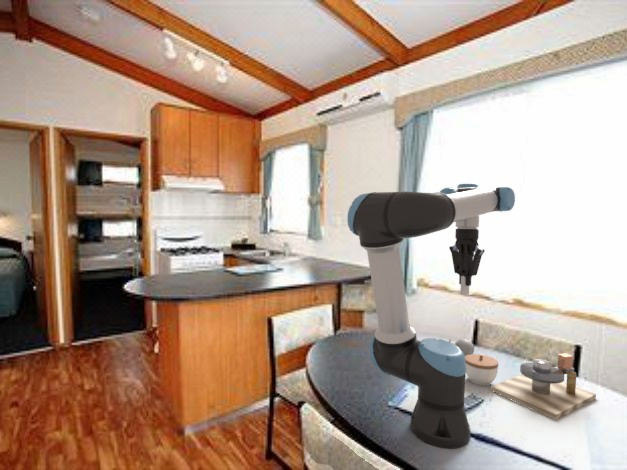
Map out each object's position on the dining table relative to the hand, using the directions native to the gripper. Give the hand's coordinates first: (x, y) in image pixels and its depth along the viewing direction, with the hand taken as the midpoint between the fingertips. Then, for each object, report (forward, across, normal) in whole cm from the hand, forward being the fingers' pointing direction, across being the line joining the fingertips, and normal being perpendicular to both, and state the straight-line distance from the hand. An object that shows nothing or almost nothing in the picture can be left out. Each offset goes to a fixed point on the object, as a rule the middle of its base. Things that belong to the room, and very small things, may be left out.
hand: (464, 294), depth 133 cm
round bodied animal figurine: (+30, +10, -11) cm, 33 cm away
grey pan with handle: (+23, -24, -12) cm, 35 cm away
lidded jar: (+30, -7, -1) cm, 30 cm away
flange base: (+29, -23, -9) cm, 38 cm away
